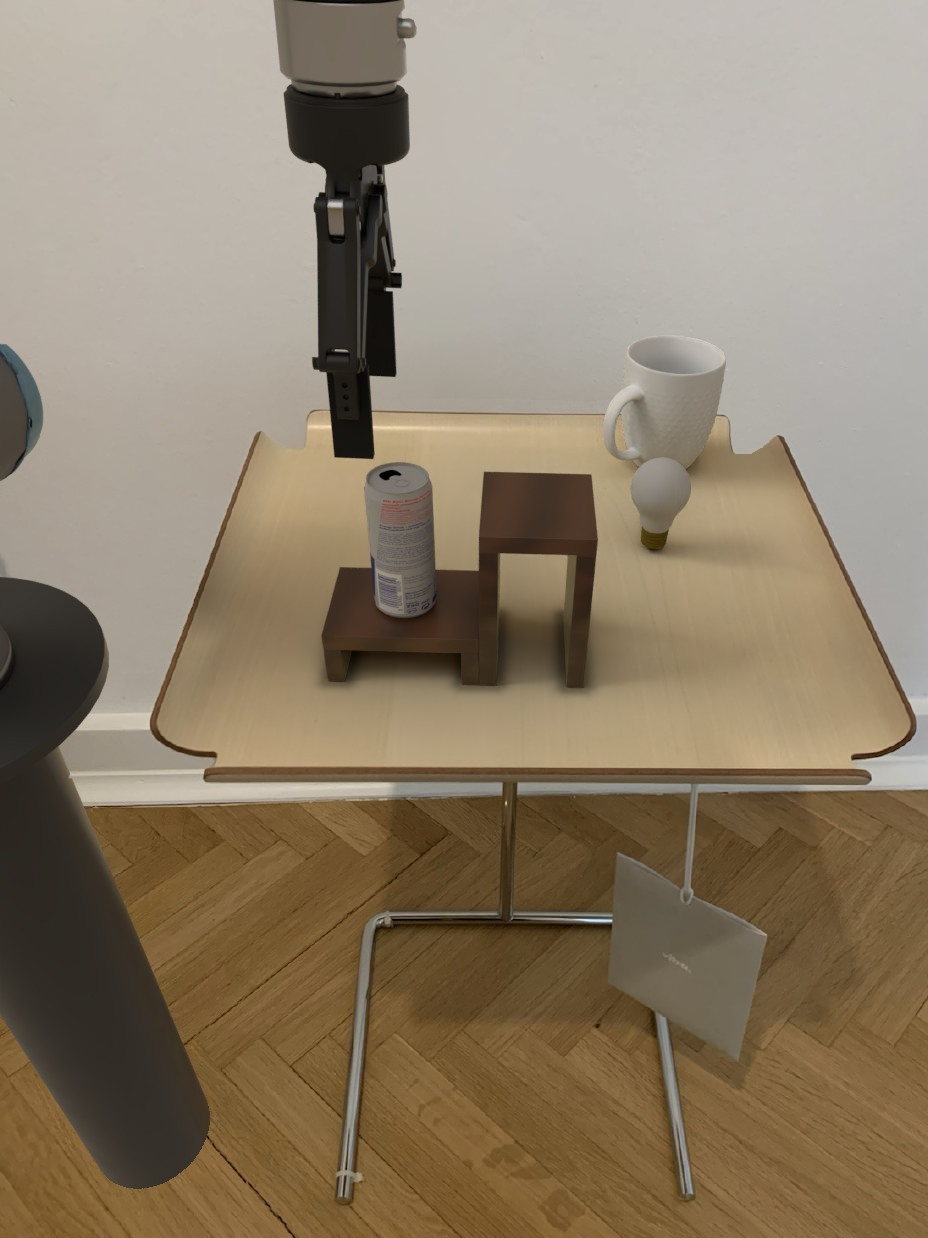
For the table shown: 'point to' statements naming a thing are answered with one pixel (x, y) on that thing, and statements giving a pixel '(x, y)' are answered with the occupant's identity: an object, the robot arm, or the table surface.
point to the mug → (666, 399)
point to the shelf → (481, 582)
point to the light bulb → (659, 498)
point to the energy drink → (401, 538)
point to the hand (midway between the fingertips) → (367, 412)
